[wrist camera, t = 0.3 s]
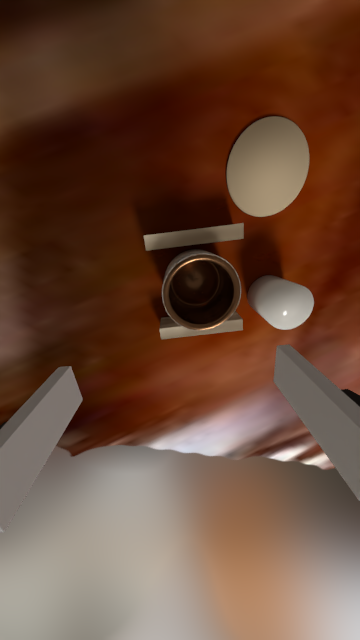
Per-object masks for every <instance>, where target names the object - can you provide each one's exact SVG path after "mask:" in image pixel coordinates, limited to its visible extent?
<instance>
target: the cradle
mask: <svg viewBox="0 0 360 640" xmlns="http://www.w3.org/2000/svg"><path fill="white" fill-rule="evenodd" d="M243 227H244V223H241V224H232V225H224V226H216V227H208V228H200V229H192V230H184V231H176V232H168V233H160V234H152V235H144V241H145V247H146V251H147V250H155V249H163V248H171V247H180V246H188V245H196V244H204V243H212V242H220V241H228V240H236V239H243ZM238 330H243V319H242V318H241V317H240V316H239V314H238V313H237V312H236V311H235V312H234V313H233V314H232V316H231V317H230V318H229V319H228V320H227V321H225V322H224V323H223V324H221V325H219V326H218V327H215V328H213V329H209V330H202V331H197V330H190V329H187V328H184V327H182V326H180V325H179V324H177V323H176V322H175V321H174V320H172V318H171V317H164V318H161V323H160V335H161V339H169V338H177V337H186V336H195V335H203V334H212V333H221V332H230V331H238Z"/></svg>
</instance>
